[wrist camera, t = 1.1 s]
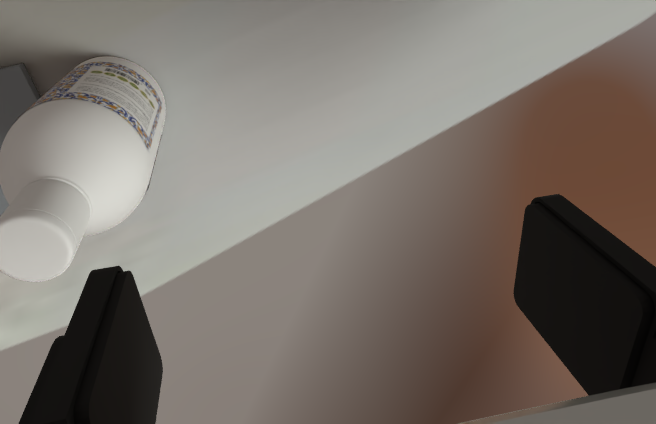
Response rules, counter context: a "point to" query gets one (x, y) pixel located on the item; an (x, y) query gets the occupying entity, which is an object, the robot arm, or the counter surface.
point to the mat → (13, 103)
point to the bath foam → (77, 164)
